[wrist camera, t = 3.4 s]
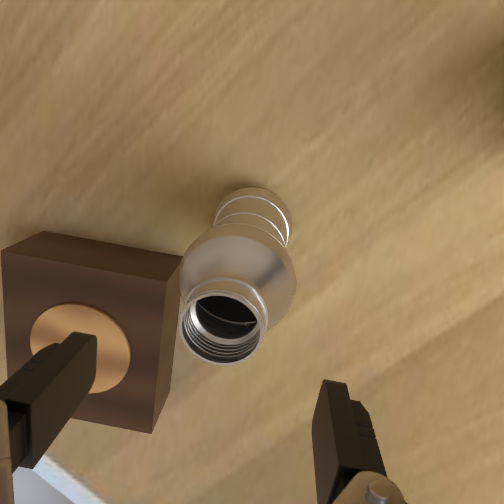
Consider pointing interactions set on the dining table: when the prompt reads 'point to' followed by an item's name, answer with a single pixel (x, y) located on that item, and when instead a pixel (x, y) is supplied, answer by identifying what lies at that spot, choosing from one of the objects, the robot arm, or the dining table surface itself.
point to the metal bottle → (237, 278)
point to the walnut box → (97, 318)
